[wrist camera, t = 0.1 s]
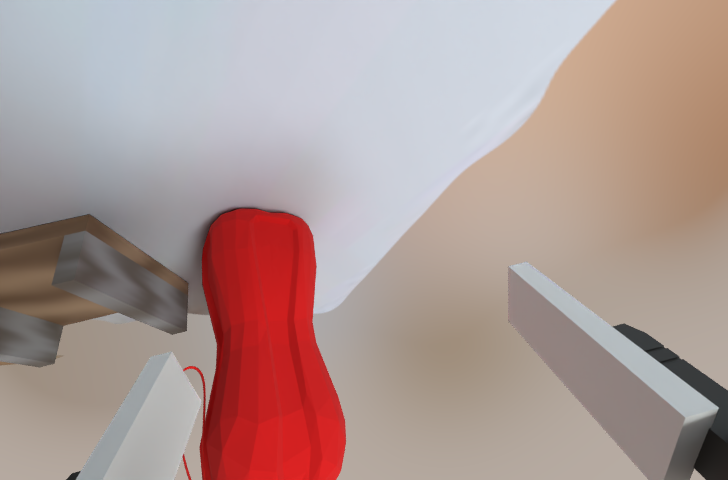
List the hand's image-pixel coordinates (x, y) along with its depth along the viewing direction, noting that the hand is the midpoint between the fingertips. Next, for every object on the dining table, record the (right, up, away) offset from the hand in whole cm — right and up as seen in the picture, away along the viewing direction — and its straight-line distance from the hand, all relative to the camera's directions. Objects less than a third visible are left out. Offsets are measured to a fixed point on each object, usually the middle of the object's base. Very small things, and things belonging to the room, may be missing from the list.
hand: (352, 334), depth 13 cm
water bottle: (-11, +5, +19) cm, 22 cm away
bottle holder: (-27, 0, +18) cm, 32 cm away
